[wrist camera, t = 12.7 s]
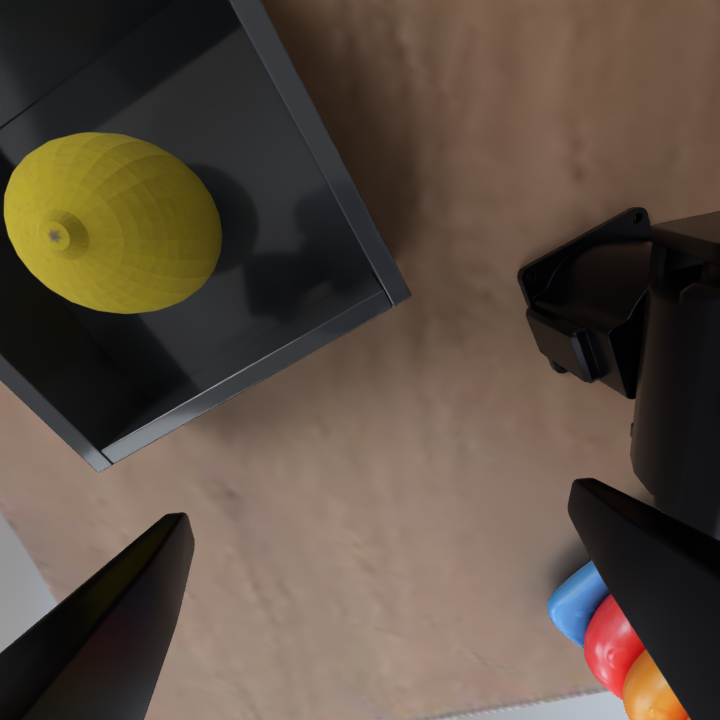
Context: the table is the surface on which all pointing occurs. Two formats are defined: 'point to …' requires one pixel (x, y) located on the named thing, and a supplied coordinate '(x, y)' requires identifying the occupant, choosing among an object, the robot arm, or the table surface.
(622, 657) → the stacking toy
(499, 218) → the table surface
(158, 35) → the open storage bin
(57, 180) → the lemon
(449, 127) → the table surface
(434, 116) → the table surface
